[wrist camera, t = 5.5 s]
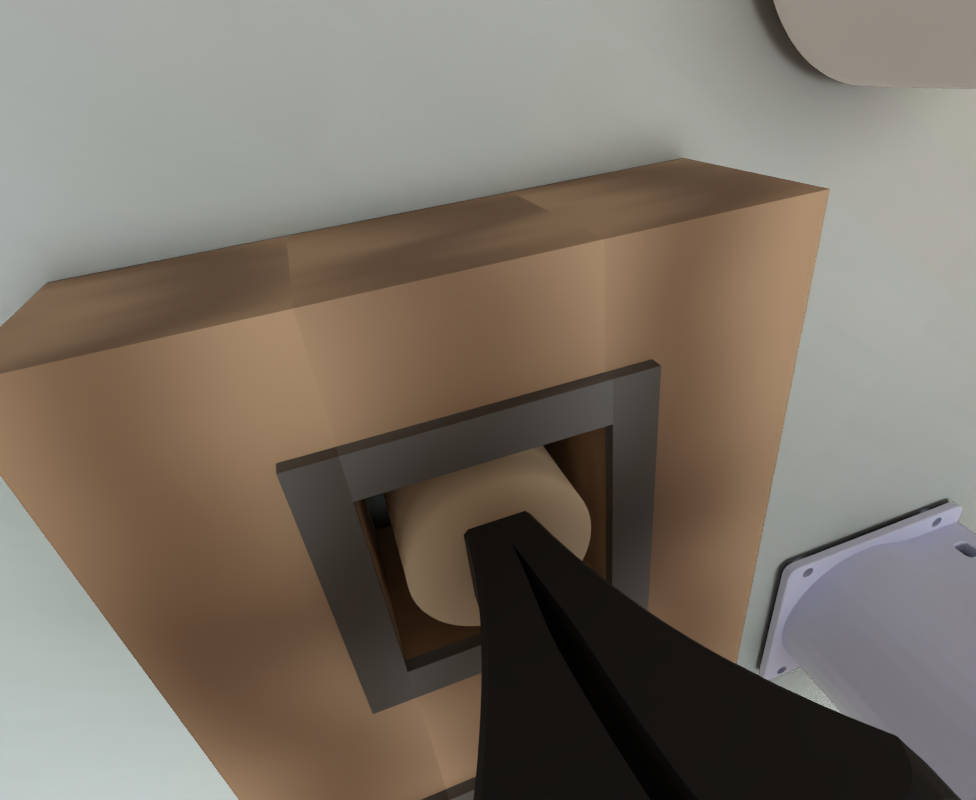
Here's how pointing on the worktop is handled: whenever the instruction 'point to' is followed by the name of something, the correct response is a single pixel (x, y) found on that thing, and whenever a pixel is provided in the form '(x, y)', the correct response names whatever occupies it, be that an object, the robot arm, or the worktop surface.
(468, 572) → the maple peg
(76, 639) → the worktop surface
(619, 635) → the robot arm
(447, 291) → the socket block
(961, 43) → the beverage can
